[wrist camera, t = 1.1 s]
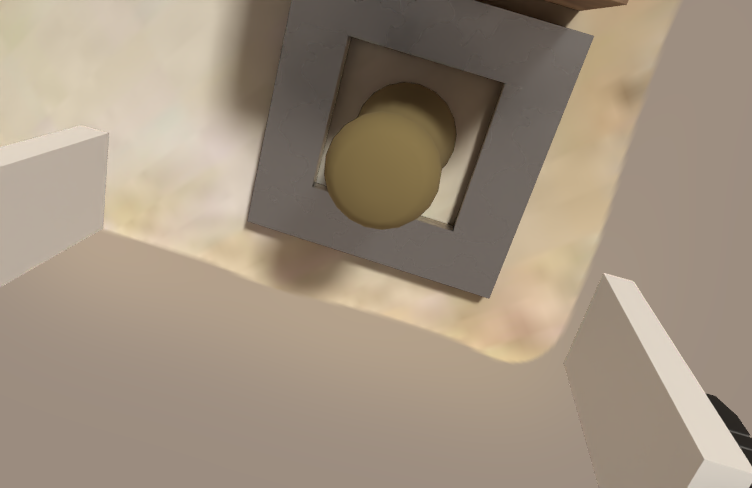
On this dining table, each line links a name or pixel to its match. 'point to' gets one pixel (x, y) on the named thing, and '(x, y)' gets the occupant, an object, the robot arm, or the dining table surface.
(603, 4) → the raised stand
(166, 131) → the dining table surface
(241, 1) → the dining table surface
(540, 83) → the low frame
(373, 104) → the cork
